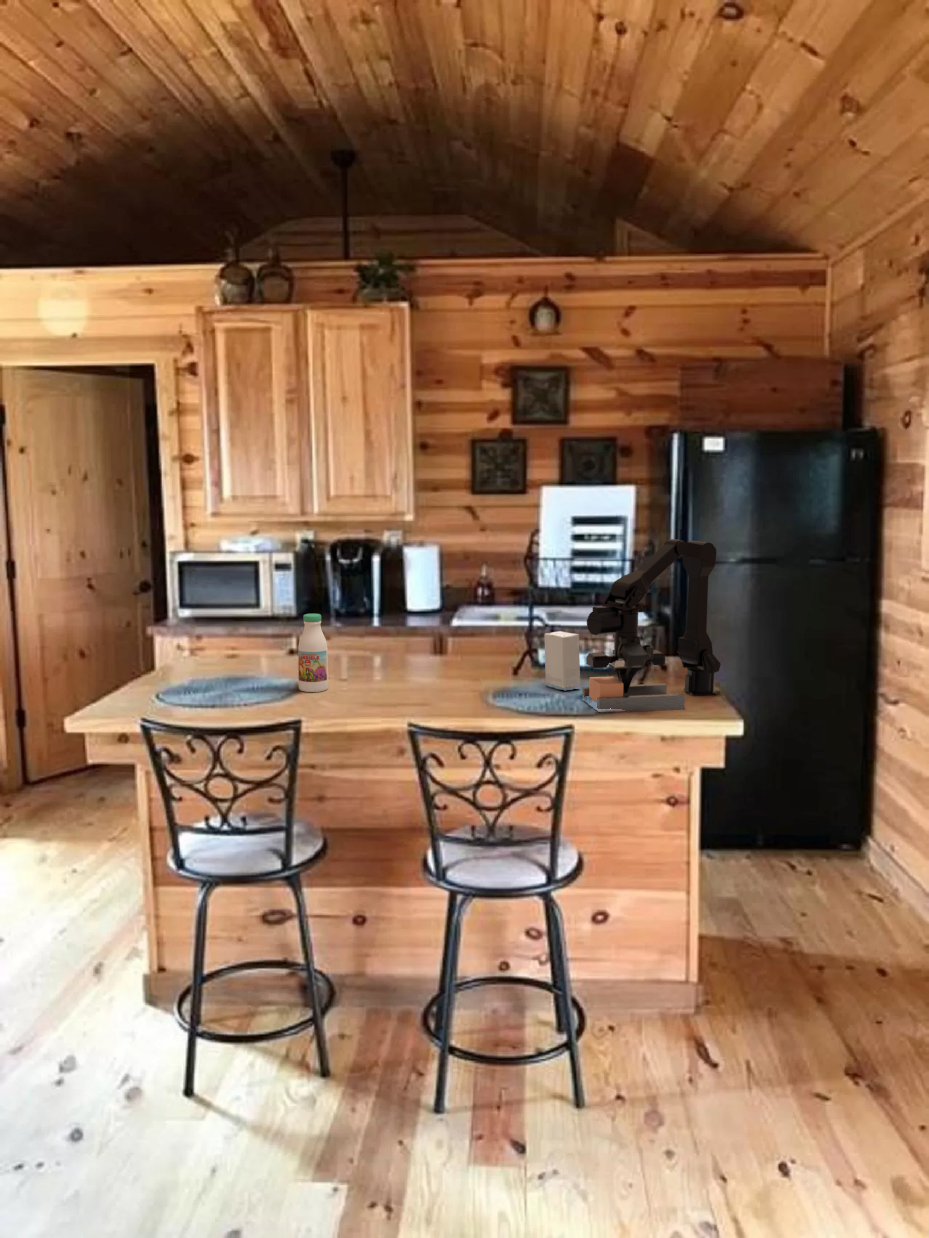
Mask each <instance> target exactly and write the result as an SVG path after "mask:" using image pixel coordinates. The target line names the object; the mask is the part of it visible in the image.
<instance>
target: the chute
mask: <svg viewBox="0 0 929 1238" xmlns="http://www.w3.org/2000/svg"><path fill="white" fill-rule="evenodd" d="M581 689H582V691H581V692H582V695H581V697H582V696H584V697H585V696H589V686H582V688H581ZM667 689H668V685H667V684H666V683H650V684H649V683H647V684H644V683H643V684H630V686H629V689H628V692H627V693H623V696H618V697H597V708H598V709H610V708H611V709H622V710H625V711H628V712H631V713H632V712H645V711H646V712H648V711H652V712H653V711H668V710H669V711H671V710H685V705H686V704H685V702H686V695H685V694H684V693H670V694H669V693H668V692H667ZM628 712H627V713H628Z"/></svg>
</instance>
